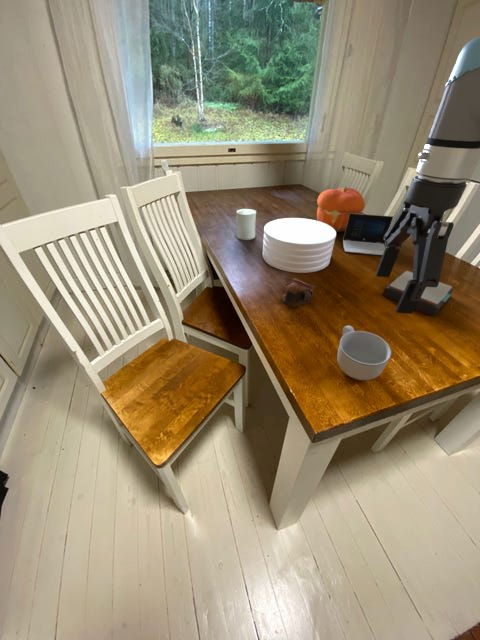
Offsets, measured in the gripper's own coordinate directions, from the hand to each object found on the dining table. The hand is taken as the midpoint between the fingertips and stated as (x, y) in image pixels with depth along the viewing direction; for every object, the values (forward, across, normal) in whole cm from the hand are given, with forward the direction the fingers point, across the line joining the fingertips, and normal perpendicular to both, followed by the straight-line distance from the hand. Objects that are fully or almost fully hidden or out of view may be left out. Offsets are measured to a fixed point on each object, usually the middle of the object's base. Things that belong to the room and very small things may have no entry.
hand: (391, 292), depth 56 cm
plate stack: (+20, -58, -14) cm, 63 cm away
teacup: (+20, +2, -3) cm, 21 cm away
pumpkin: (+20, -93, +7) cm, 96 cm away
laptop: (+20, -70, +16) cm, 75 cm away
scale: (+20, -33, +25) cm, 46 cm away
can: (+20, -77, -38) cm, 88 cm away
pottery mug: (+20, -24, -15) cm, 35 cm away
